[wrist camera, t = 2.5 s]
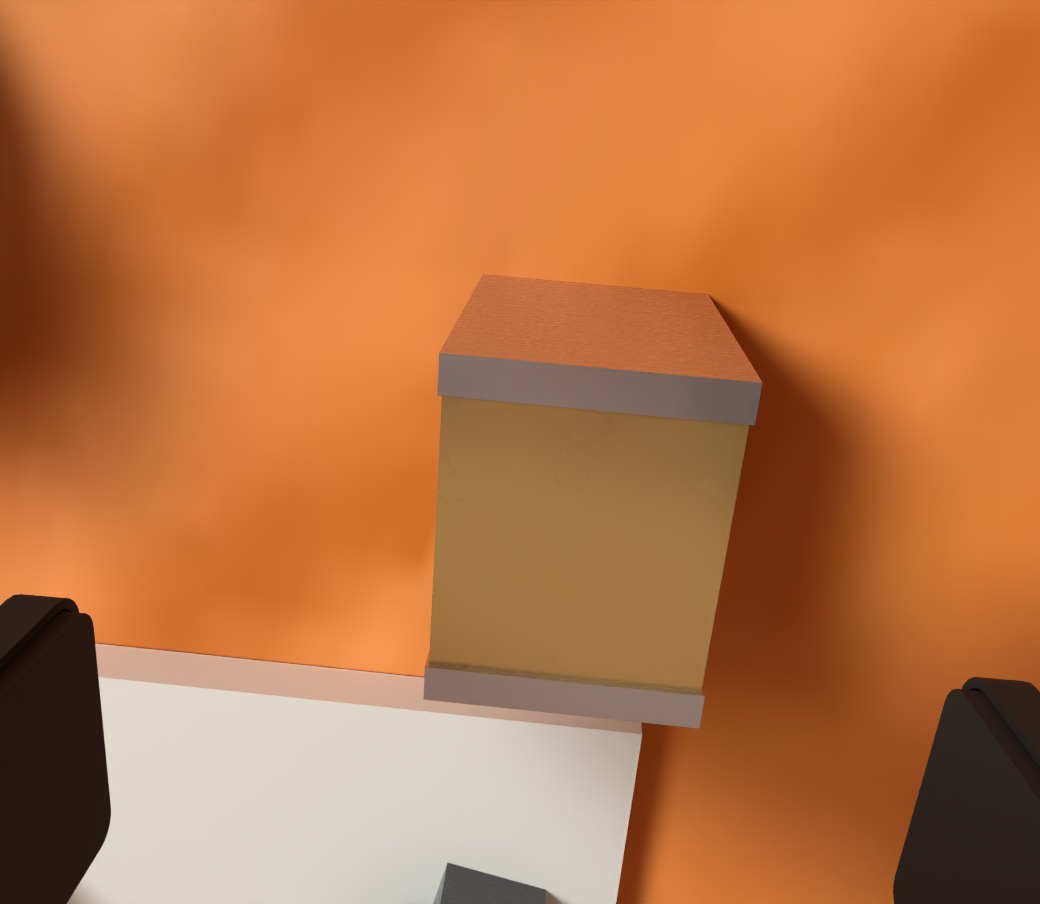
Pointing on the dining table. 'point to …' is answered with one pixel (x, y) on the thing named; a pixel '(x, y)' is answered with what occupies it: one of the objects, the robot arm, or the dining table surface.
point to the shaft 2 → (484, 889)
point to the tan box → (584, 498)
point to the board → (344, 787)
